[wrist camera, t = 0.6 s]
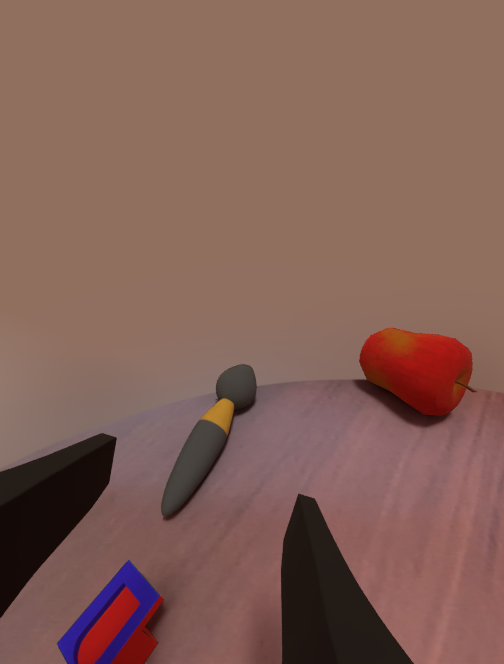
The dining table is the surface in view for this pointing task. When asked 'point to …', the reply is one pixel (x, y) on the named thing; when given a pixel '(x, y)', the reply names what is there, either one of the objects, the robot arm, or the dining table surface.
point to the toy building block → (114, 623)
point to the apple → (418, 368)
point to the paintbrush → (208, 436)
